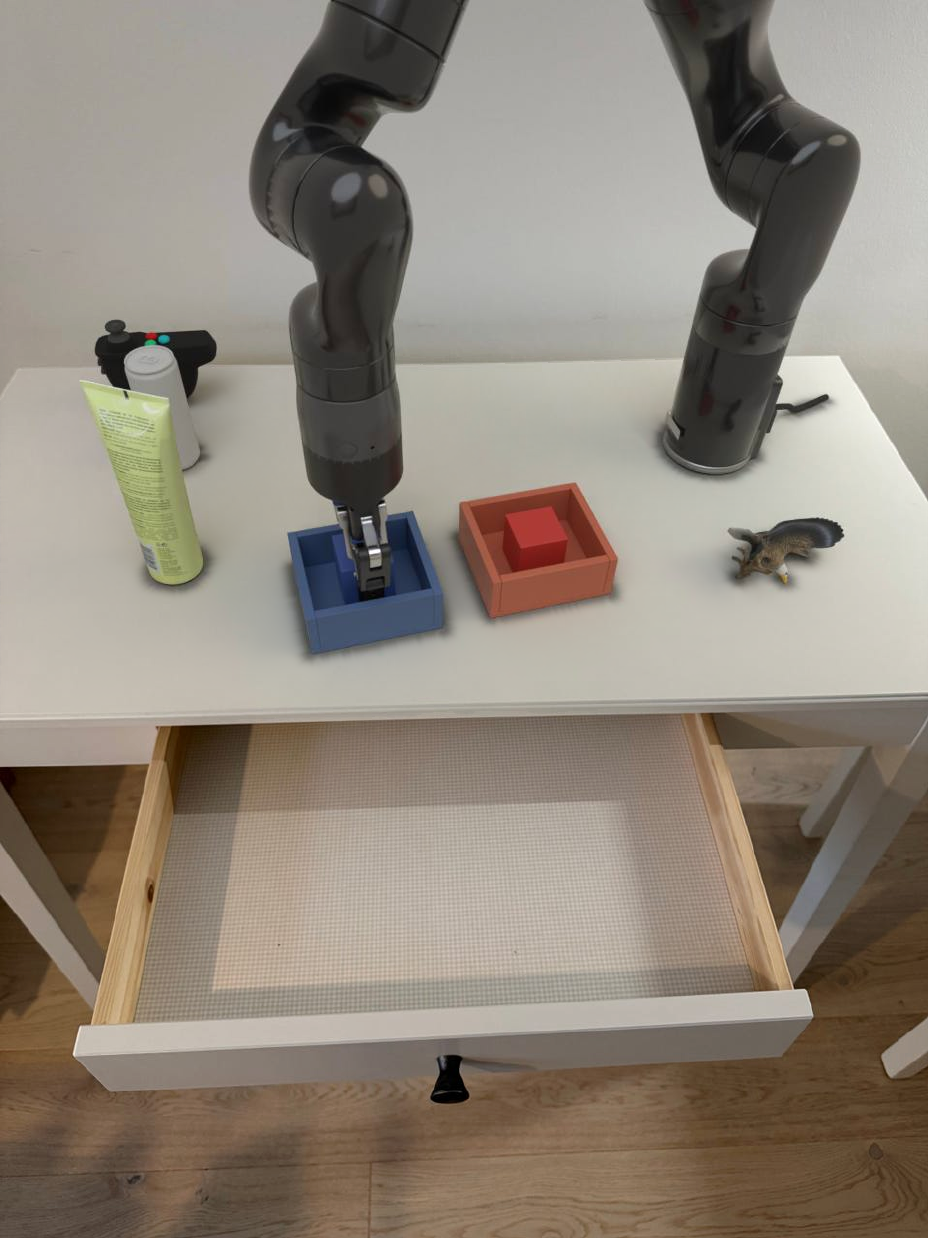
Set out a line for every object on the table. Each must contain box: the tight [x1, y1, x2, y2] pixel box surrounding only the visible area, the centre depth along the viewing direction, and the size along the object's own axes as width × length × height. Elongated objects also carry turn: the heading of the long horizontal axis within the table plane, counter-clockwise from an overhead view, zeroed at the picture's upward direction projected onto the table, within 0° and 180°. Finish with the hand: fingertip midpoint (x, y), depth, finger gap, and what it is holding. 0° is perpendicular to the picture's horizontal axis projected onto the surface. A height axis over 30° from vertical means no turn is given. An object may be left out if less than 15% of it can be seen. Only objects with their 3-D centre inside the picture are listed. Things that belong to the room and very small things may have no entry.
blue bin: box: [286, 510, 444, 655], centre depth 78 cm, size 12×11×5 cm
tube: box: [79, 379, 204, 585], centre depth 74 cm, size 6×5×20 cm
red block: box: [503, 506, 568, 573], centre depth 80 cm, size 4×4×4 cm
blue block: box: [332, 534, 396, 605], centre depth 76 cm, size 4×4×4 cm
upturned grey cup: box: [124, 345, 201, 471], centre depth 87 cm, size 5×5×12 cm
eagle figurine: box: [727, 516, 845, 584], centre depth 81 cm, size 8×7×9 cm
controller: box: [94, 319, 218, 400], centre depth 94 cm, size 4×12×10 cm, turn 100°
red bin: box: [457, 481, 619, 619], centre depth 81 cm, size 12×11×5 cm
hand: (365, 581), depth 78 cm, fingers closed on blue block, 4 cm apart
